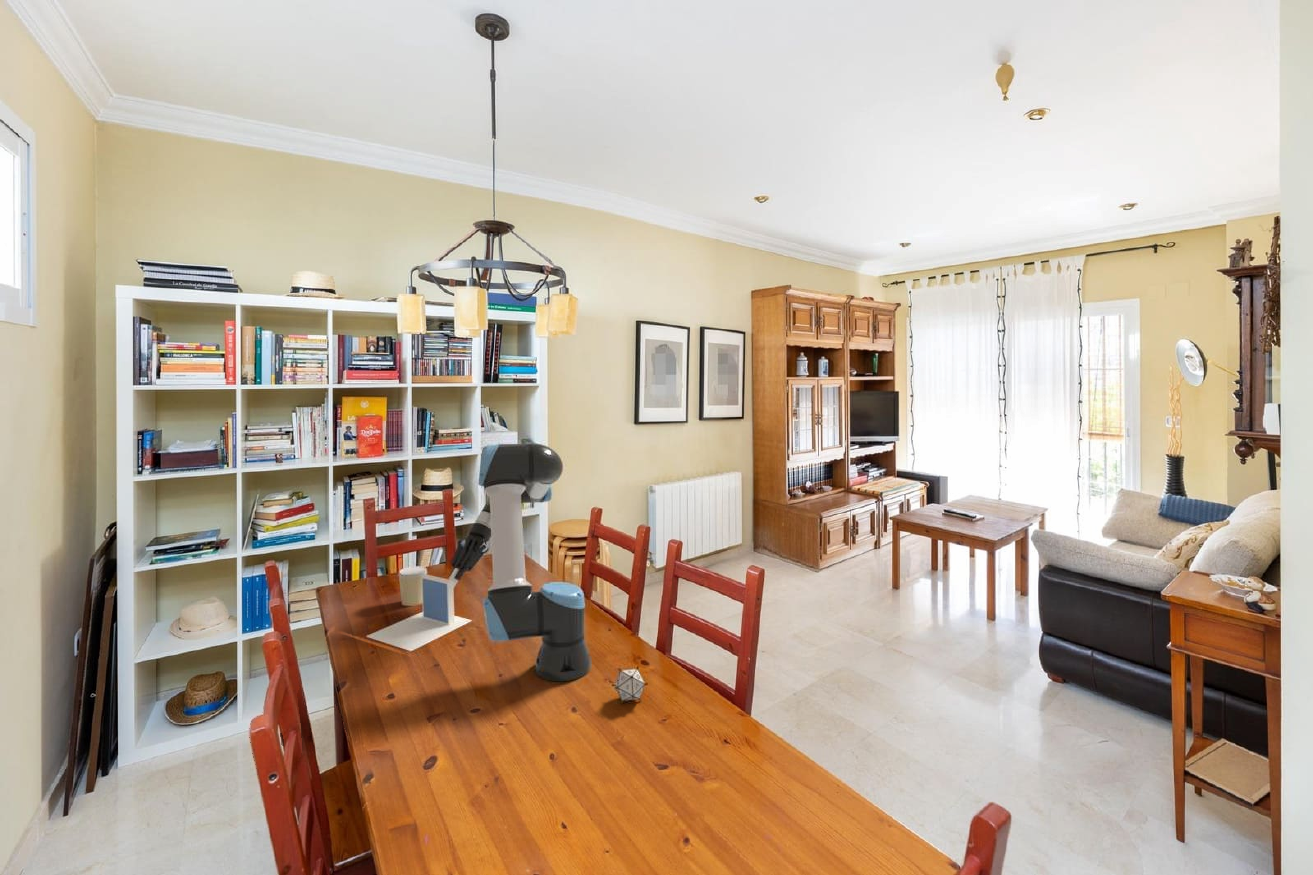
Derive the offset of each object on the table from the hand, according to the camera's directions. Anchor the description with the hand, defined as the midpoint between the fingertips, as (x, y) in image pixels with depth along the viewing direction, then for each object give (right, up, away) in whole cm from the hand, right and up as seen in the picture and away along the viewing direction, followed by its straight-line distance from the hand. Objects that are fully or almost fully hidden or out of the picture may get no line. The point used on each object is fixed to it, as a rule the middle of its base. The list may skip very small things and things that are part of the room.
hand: (448, 587), depth 190 cm
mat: (-5, -11, -10) cm, 15 cm away
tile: (-2, -10, -3) cm, 11 cm away
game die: (+63, -16, -48) cm, 80 cm away
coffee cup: (-17, -9, +12) cm, 22 cm away
